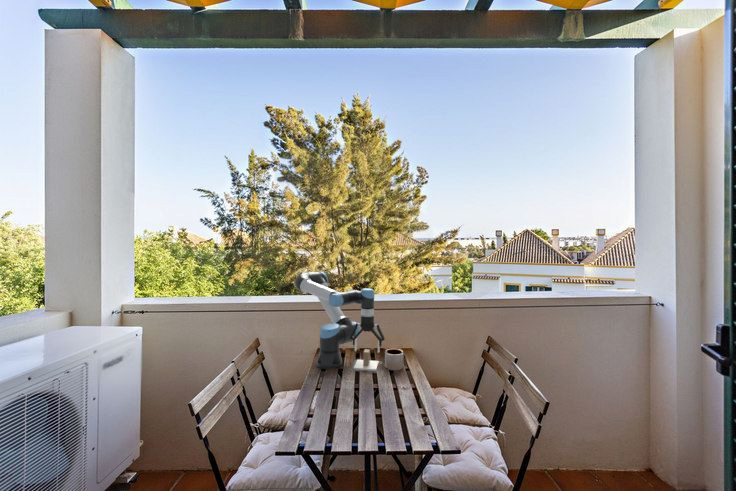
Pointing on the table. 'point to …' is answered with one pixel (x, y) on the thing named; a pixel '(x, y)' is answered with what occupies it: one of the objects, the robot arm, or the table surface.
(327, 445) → the table surface
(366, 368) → the lid
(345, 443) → the table surface
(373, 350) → the table surface
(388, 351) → the planter
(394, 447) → the table surface
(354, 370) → the mat
